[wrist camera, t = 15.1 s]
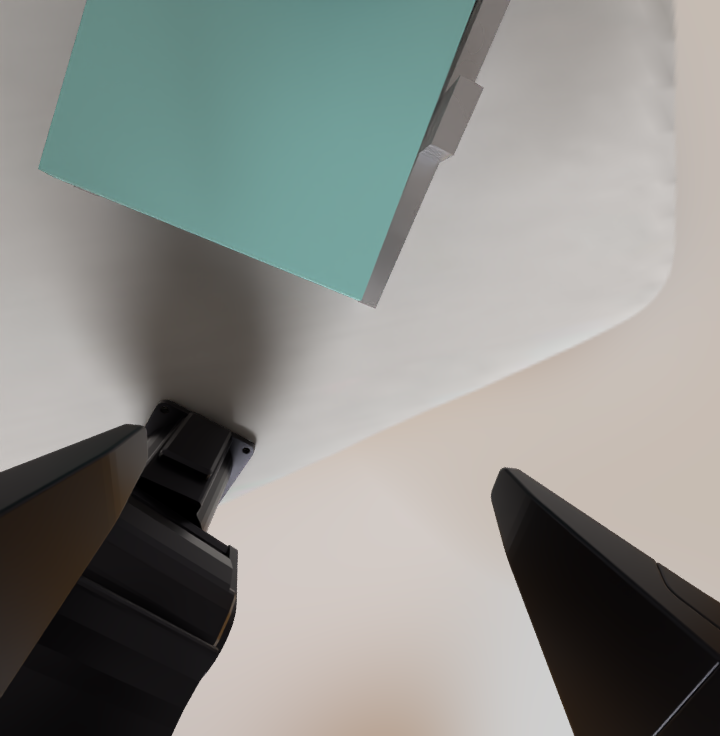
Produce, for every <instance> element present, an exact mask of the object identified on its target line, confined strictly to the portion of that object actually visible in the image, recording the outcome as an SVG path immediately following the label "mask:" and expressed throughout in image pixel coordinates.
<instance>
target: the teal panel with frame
mask: <svg viewBox="0 0 720 736" xmlns="http://www.w3.org/2000/svg"><path fill="white" fill-rule="evenodd" d="M509 2H510V0H478V1H477V4H476V6H475V8H474V11H473V13H472V16H471V18H470V21H469V23H468V25H467V28H466V30H465V33H464V35H463V38H462V40H461V42H460V45H459V47H458V50H457V52H456V54H455V57H454V59H453V62H452V64H451V67H450V69H449V72H448V74H447V77H446V80H445V82H444V85H443V88H442V90H441V93H440V95H439V98H438V101H437V103H436V106H435V109H434V111H433V114H432V116H431V119H430V122H429V124H428V127H427V130H426V132H425V135H424V137H423V140H422V143H421V145H420V148H419V151H418V153H417V156H416V158H415V161H414V164H413V166H412V169H411V172H410V174H409V177H408V179H407V182H406V185H405V187H404V190H403V193H402V195H401V198H400V200H399V203H398V206H397V208H396V211H395V214H394V216H393V219H392V221H391V224H390V227H389V229H388V232H387V235H386V237H385V240H384V243H383V245H382V248H381V250H380V253H379V256H378V258H377V261H376V264H375V266H374V269H373V271H372V274H371V277H370V279H369V282H368V285H367V287H366V290H365V292H364V295H363V298H362V300H360V301H358V302H361V303H363V304H366V305H368V306H371V307H373V308H376V306H377V304H378V301H379V299H380V297H381V295H382V292H383V290H384V288H385V285H386V283H387V281H388V279H389V276H390V274H391V272H392V270H393V267H394V265H395V263H396V260H397V258H398V256H399V254H400V251H401V249H402V247H403V244H404V242H405V240H406V238H407V235H408V233H409V231H410V228H411V226H412V224H413V222H414V219H415V217H416V215H417V212H418V210H419V208H420V206H421V203H422V201H423V199H424V196H425V194H426V192H427V190H428V187H429V185H430V183H431V180H432V178H433V176H434V174H435V171H436V169H437V167H438V164H439V163H440V162H442V161H443V160H445V159H447V158H449V157H451V156H453V155H454V153H455V151H456V149H457V146H458V144H459V142H460V140H461V137H462V135H463V133H464V131H465V128H466V126H467V124H468V122H469V120H470V117H471V115H472V113H473V111H474V108H475V106H476V104H477V102H478V99H479V97H480V95H481V93H482V90H483V87H481V86H480V85H478V84H476V83H474V82H475V80H476V78H477V75H478V73H479V71H480V69H481V66H482V64H483V62H484V59H485V57H486V55H487V53H488V50H489V48H490V46H491V43H492V41H493V39H494V37H495V34H496V32H497V30H498V27H499V25H500V23H501V21H502V18H503V16H504V14H505V11H506V9H507V7H508V5H509ZM74 187H76V188H79V187H77V186H74ZM79 189H81V188H79ZM81 190H84V189H81ZM84 191H86V190H84ZM86 192H89V191H86ZM89 193H91V192H89ZM91 194H94V193H91ZM94 195H96V194H94ZM96 196H99V195H96Z"/></svg>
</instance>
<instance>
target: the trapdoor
mask: <svg viewBox="0 0 720 736" xmlns="http://www.w3.org/2000/svg"><path fill="white" fill-rule="evenodd" d="M475 1H476V0H87V2H86V5H85V8H84V12H83V15H82V19H81V22H80V26H79V29H78V33H77V36H76V40H75V43H74V47H73V50H72V53H71V57H70V60H69V64H68V67H67V71H66V74H65V78H64V81H63V85H62V88H61V92H60V95H59V98H58V102H57V105H56V109H55V112H54V116H53V119H52V123H51V126H50V130H49V133H48V137H47V140H46V143H45V147H44V150H43V154H42V157H41V161H40V164H39V168H38V169H39V170H41V171H43V172H45V173H47V174H49V175H51V176H52V177H54V178H57V179H59V180H62V181H64V182H67V183H69V184H72V185H74V186H77V187H79V188H81V189H84V190H86V191H89V192H91V193H94V194H96V195H99V196H101V197H104V198H106V199H109V200H111V201H114V202H116V203H118V204H121V205H123V206H126V207H128V208H131V209H133V210H136V211H138V212H141V213H143V214H146V215H148V216H151V217H153V218H156V219H158V220H160V221H163V222H165V223H168V224H170V225H173V226H175V227H178V228H180V229H183V230H185V231H188V232H190V233H193V234H195V235H197V236H200V237H202V238H205V239H207V240H210V241H212V242H215V243H217V244H220V245H222V246H225V247H227V248H230V249H232V250H234V251H237V252H239V253H242V254H244V255H247V256H249V257H252V258H254V259H257V260H259V261H262V262H264V263H267V264H269V265H272V266H274V267H276V268H279V269H281V270H284V271H286V272H289V273H291V274H294V275H296V276H299V277H301V278H304V279H306V280H309V281H311V282H313V283H316V284H318V285H321V286H323V287H326V288H328V289H331V290H333V291H336V292H338V293H341V294H343V295H346V296H348V297H350V298H353V299H355V300H358V301H360V300H362V298H363V295H364V292H365V290H366V287H367V285H368V282H369V279H370V277H371V274H372V271H373V269H374V266H375V264H376V261H377V258H378V256H379V253H380V250H381V248H382V245H383V243H384V240H385V237H386V235H387V232H388V229H389V227H390V224H391V221H392V219H393V216H394V214H395V211H396V208H397V206H398V203H399V200H400V198H401V195H402V193H403V190H404V187H405V185H406V182H407V179H408V177H409V174H410V172H411V169H412V166H413V164H414V161H415V158H416V156H417V153H418V151H419V148H420V145H421V143H422V140H423V137H424V135H425V132H426V130H427V127H428V124H429V122H430V119H431V116H432V114H433V111H434V109H435V106H436V103H437V101H438V98H439V95H440V93H441V90H442V88H443V85H444V82H445V80H446V77H447V74H448V72H449V69H450V66H451V64H452V61H453V59H454V56H455V53H456V51H457V48H458V45H459V43H460V40H461V38H462V35H463V32H464V30H465V27H466V24H467V22H468V19H469V17H470V14H471V11H472V9H473V6H474V3H475Z"/></svg>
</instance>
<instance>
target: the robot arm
mask: <svg viewBox="0 0 720 736" xmlns="http://www.w3.org/2000/svg"><path fill="white" fill-rule="evenodd" d="M163 406H165V407H167V408H168V409H169V410H165V409H164V408H163ZM244 448H249V449H250V450H245V449H244ZM254 450H255V445H254V443H252V442H251V441H249V440H247V439H245V438H243V437H241V436H239V435H237V434H235V433H233V432H231V431H230V430H228V429H226V428H224V427H222V426H220V425H218V424H217V423H215V422H213V421H211V420H209V419H207V418H205V417H203V416H201V415H199V414H197V413H194V412H192V411H190V410H188V409H186V408H184V407H182V406H180V405H178V404H176V403H174V402H172V401H170V400H162V401H161V402H160V403H159V404H158V405H157V406H156V408H155V410H154V412H153V414H152V415H151V417H150V419H149V421H148V423H147V424H146V426H145V427H144V426H141V425H133V424H124V425H122V426H119V427H117V428H114V429H111V430H109V431H106V432H104V433H101V434H98V435H96V436H93V437H91V438H88V439H85V440H83V441H80V442H78V443H75V444H72V445H70V446H67V447H65V448H62V449H59V450H57V451H54V452H52V453H49V454H47V455H44V456H41V457H39V458H36V459H34V460H31V461H28V462H26V463H23V464H21V465H18V466H15V467H13V468H10V469H8V470H5V471H2V472H0V736H172V733H173V731H174V729H175V727H176V725H177V723H178V721H179V719H180V717H181V714H182V712H183V710H184V708H185V706H186V705H187V703H188V701H189V699H190V698H191V696H192V694H193V692H194V691H195V688H196V687H197V685H198V683H199V681H200V680H201V679H202V677H203V676H204V675H205V674H206V673H207V671H208V670H209V669H210V667H211V666H212V664H213V663H214V662H215V660H216V658H217V657H218V655H219V653H220V652H221V649H222V648H223V646H224V644H225V642H226V640H227V637H228V635H229V632H230V630H231V627H232V625H233V621H234V617H235V613H236V604H237V603H236V602H237V562H238V560H237V559H238V550H237V549H235V548H233V547H232V546H230V545H229V546H227V545H225V544H224V543H222V542H220V541H219V540H217V539H216V538H214V537H213V536H211V535H210V534H208V533H207V530H208V527H209V525H210V523H211V520H212V518H213V515H214V513H215V511H216V508H217V506H218V504H219V503H220V501H221V500H222V498H223V497H224V496H225V494H226V493H227V491H228V490H229V488H230V487H231V485H232V484H233V483H234V481H235V480H236V478H237V477H238V475H239V474H240V472H241V471H242V469H243V468H244V467H245V465H246V464H247V462H248V461H249V459H250V458H251V456H252V455H253V453H254ZM491 501H492V505H493V508H494V512H495V516H496V520H497V523H498V527H499V530H500V535H501V538H502V542H503V546H504V549H505V552H506V555H507V558H508V561H509V564H510V567H511V570H512V572H513V574H514V577H515V580H516V583H517V585H518V588H519V591H520V593H521V596H522V599H523V601H524V604H525V607H526V609H527V612H528V614H529V617H530V619H531V622H532V625H533V628H534V630H535V633H536V636H537V638H538V641H539V644H540V646H541V649H542V651H543V654H544V657H545V659H546V662H547V665H548V667H549V670H550V673H551V675H552V678H553V681H554V683H555V686H556V688H557V691H558V694H559V696H560V699H561V701H562V704H563V707H564V709H565V712H566V715H567V717H568V720H569V723H570V725H571V728H572V731H573V733H574V736H720V603H719V602H718V601H717V600H715V599H713V598H712V597H710V596H708V595H707V594H705V593H703V592H702V591H701V590H699V589H697V588H696V587H695V586H693V585H691V584H690V583H688V582H687V581H685V580H684V579H682V578H681V577H679V576H678V575H676V574H675V573H673V572H672V571H670V570H669V569H667V568H666V567H664V566H662V565H661V564H660V563H656V562H655V560H654V559H652V558H651V557H649V556H648V555H646V554H645V553H643V552H642V551H640V550H639V549H637V548H636V547H634V546H632V545H631V544H630V543H628V542H627V541H625V540H624V539H622V538H621V537H619V536H618V535H616V534H615V533H613V532H612V531H610V530H608V529H607V528H606V527H604V526H603V525H601V524H600V523H598V522H597V521H595V520H594V519H592V518H591V517H589V516H588V515H586V514H585V513H583V512H582V511H580V510H579V509H577V508H576V507H574V506H573V505H571V504H570V503H568V502H567V501H565V500H564V499H562V498H561V497H559V496H558V495H556V494H555V493H553V492H552V491H550V490H549V489H547V488H546V487H544V486H543V485H541V484H540V483H538V482H537V481H535V480H534V479H532V478H531V477H529V476H528V475H526V474H525V473H523V472H522V471H520V470H519V469H515V468H506V467H505V468H502V469H501V470H500V471H499V474H498V476H497V479H496V481H495V484H494V486H493V489H492V493H491Z"/></svg>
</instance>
